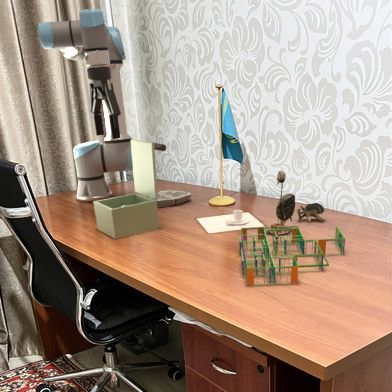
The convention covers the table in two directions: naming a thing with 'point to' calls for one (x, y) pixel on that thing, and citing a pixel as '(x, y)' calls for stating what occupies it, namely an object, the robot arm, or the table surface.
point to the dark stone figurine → (283, 206)
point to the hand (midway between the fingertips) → (108, 136)
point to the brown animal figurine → (311, 211)
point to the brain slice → (171, 198)
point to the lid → (145, 167)
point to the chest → (126, 215)
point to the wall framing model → (295, 239)
